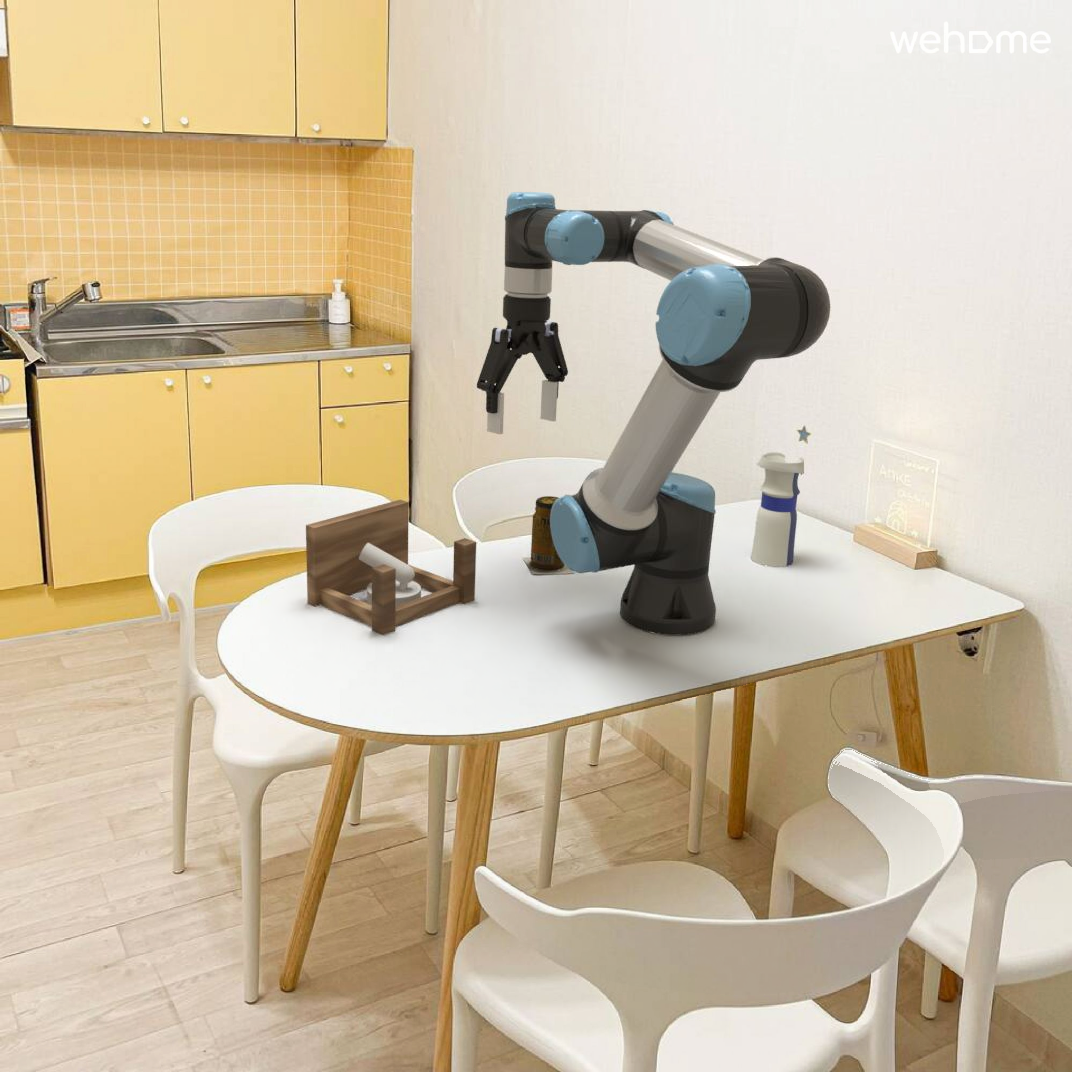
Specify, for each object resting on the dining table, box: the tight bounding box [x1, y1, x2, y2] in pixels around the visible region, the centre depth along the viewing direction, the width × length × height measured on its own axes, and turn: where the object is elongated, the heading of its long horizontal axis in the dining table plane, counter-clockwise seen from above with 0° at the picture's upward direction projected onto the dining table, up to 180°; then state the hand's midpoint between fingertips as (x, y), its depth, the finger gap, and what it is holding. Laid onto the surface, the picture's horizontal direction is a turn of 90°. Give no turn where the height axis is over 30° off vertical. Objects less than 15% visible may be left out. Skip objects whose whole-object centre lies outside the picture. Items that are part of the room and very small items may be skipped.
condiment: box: [522, 495, 574, 575], centre depth 202 cm, size 7×8×12 cm
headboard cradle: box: [305, 499, 477, 636], centre depth 183 cm, size 18×20×13 cm
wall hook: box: [359, 543, 422, 606], centre depth 183 cm, size 9×10×10 cm
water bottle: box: [750, 424, 812, 568], centre depth 208 cm, size 8×8×25 cm
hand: (522, 426), depth 189 cm, fingers open, 13 cm apart
